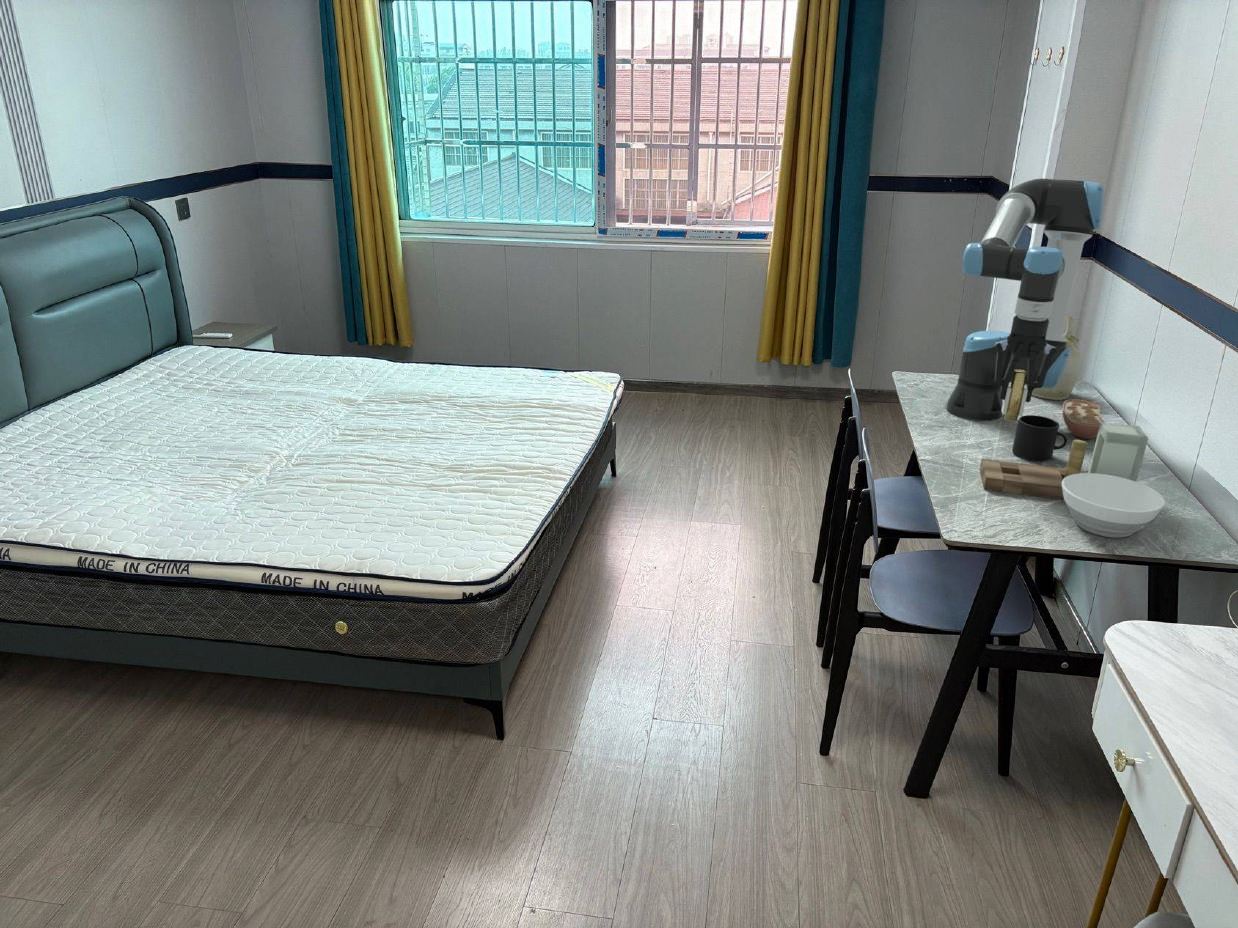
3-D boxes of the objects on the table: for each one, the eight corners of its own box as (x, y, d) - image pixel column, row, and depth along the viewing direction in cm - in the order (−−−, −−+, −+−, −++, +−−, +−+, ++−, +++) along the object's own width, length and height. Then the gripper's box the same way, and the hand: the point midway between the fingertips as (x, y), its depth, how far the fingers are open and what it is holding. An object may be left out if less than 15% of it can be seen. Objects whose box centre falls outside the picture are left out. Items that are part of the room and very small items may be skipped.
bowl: (1082, 548, 182) (1092, 511, 179) (1036, 506, 200) (1044, 472, 197) (1175, 548, 183) (1186, 511, 180) (1121, 506, 201) (1130, 472, 198)
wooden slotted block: (979, 469, 218) (988, 423, 214) (1114, 486, 211) (1127, 439, 206) (983, 489, 208) (993, 441, 203) (1126, 507, 200) (1139, 458, 196)
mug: (1063, 466, 222) (1071, 432, 218) (1011, 457, 226) (1018, 424, 223) (1062, 453, 230) (1070, 420, 226) (1012, 445, 234) (1019, 412, 231)
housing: (1088, 473, 210) (1100, 422, 205) (1125, 477, 208) (1139, 426, 203) (1094, 486, 202) (1108, 434, 197) (1133, 491, 201) (1148, 438, 196)
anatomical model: (1102, 445, 236) (1107, 428, 234) (1061, 440, 239) (1065, 422, 237) (1094, 418, 256) (1098, 402, 254) (1056, 413, 259) (1060, 397, 257)
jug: (1058, 386, 283) (1076, 308, 273) (1084, 402, 269) (1104, 320, 259) (1011, 385, 282) (1027, 307, 272) (1034, 402, 268) (1052, 319, 258)
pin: (1003, 416, 217) (1012, 369, 212) (1016, 418, 216) (1026, 370, 211) (1004, 420, 214) (1014, 372, 209) (1017, 422, 213) (1028, 374, 209)
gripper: (996, 318, 204) (977, 414, 213) (1072, 324, 200) (1050, 422, 209) (992, 310, 210) (975, 404, 220) (1067, 316, 206) (1045, 411, 216)
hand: (1011, 413), depth 214 cm, fingers closed on pin, 3 cm apart
